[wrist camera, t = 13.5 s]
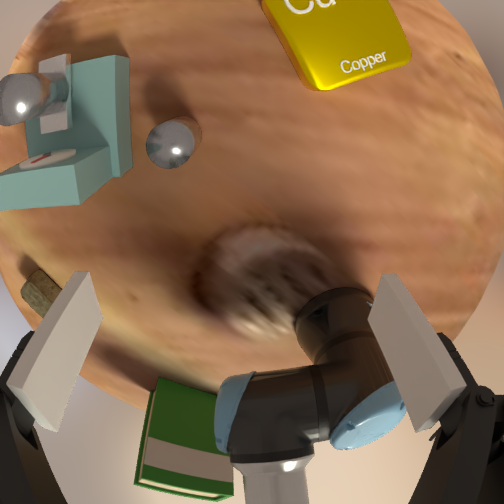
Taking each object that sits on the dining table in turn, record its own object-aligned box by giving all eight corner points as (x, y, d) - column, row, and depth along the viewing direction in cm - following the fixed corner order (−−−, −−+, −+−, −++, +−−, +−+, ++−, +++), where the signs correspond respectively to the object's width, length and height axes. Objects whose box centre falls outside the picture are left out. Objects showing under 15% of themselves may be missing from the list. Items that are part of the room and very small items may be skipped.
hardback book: (150, 391, 62) (133, 484, 41) (159, 376, 59) (141, 477, 38) (218, 413, 67) (217, 501, 46) (232, 400, 64) (233, 495, 43)
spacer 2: (202, 153, 37) (193, 168, 31) (164, 154, 37) (147, 169, 30) (201, 115, 35) (192, 121, 28) (163, 117, 35) (145, 123, 28)
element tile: (307, 96, 35) (316, 96, 30) (254, -1, 28) (257, -13, 24) (401, 63, 32) (419, 62, 28) (355, -29, 25) (368, -40, 21)
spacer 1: (69, 110, 26) (28, 120, 19) (36, 117, 26) (-7, 130, 19) (69, 68, 24) (26, 67, 17) (35, 77, 23) (-9, 82, 16)
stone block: (39, 264, 45) (26, 279, 40) (83, 306, 50) (73, 324, 45) (28, 279, 46) (15, 295, 42) (69, 318, 51) (60, 336, 47)
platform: (79, 125, 30) (67, 129, 27) (54, 129, 29) (41, 134, 27) (78, 54, 25) (65, 53, 23) (52, 62, 25) (38, 61, 22)
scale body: (132, 166, 38) (88, 204, 26) (50, 174, 37) (-7, 211, 25) (129, 58, 30) (78, 46, 18) (43, 77, 30) (-22, 84, 17)
